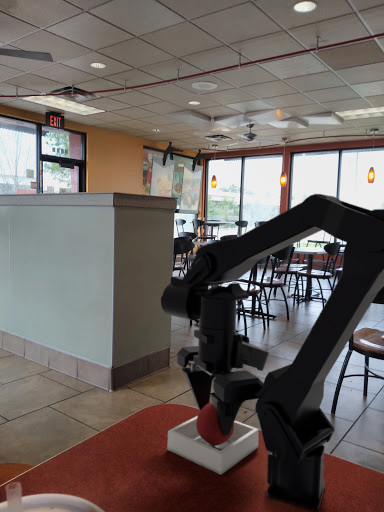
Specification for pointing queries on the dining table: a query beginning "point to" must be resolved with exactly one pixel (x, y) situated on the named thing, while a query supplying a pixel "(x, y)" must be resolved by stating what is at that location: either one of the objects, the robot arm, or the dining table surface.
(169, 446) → the tray
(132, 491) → the dining table surface
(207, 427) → the onion
